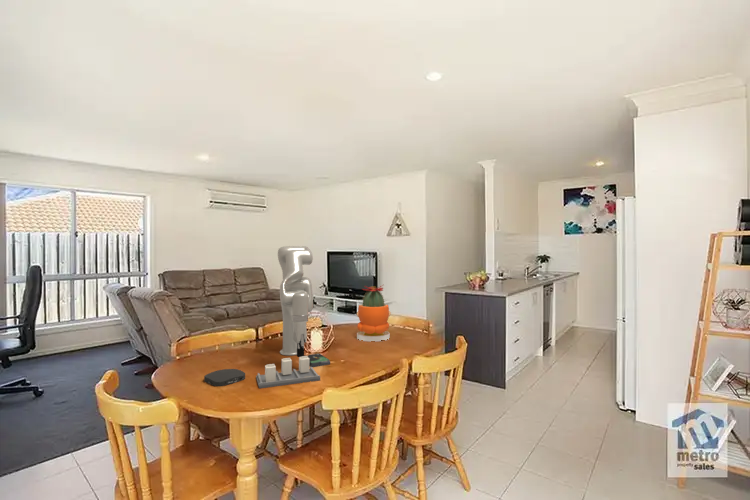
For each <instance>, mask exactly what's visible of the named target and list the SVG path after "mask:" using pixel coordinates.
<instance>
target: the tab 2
mask: <svg viewBox="0 0 750 500" xmlns="http://www.w3.org/2000/svg"><path fill="white" fill-rule="evenodd" d="M292 367H293V360H292V359H291V357H285V358H281V367H280V368H281V370H280V371H281V372H280V373H282V375H288V374H292V371H293V368H292Z"/></svg>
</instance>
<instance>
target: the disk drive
mask: <svg viewBox="0 0 750 500" xmlns="http://www.w3.org/2000/svg"><path fill="white" fill-rule="evenodd" d="M304 356H308V358H309V368H310V367H312V368H318V367H324V366H329V365H331V361H330V359H329V358H327V357H326V356H324V355H323V354H321V353H320V352H319V353H313V354H308V355H306V354H304Z"/></svg>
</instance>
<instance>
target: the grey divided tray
mask: <svg viewBox="0 0 750 500" xmlns="http://www.w3.org/2000/svg"><path fill="white" fill-rule="evenodd" d="M255 377H256V383H257V386H258V388H259V389H264V388H265V389H266V388H272V387H281V386H287V385H296V384H303V382H304V383H311V382H317V381H321V375H319V374H318V373H317V372H316V370H315V369H314V367H310V366H309V372H305V373H300V371H299V369H296V368H292V374H288V375H282V373H281V372H279V371H278V370H276V381H272V382H266V381H265V374H260V372H257V375H255ZM310 381H311V382H310Z"/></svg>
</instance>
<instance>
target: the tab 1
mask: <svg viewBox="0 0 750 500" xmlns="http://www.w3.org/2000/svg"><path fill="white" fill-rule="evenodd" d="M276 367H277V366H276V365H275V363H269V364H266V365H264V375H265V381H266V382H272V381H276V371H277V369H276Z"/></svg>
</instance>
